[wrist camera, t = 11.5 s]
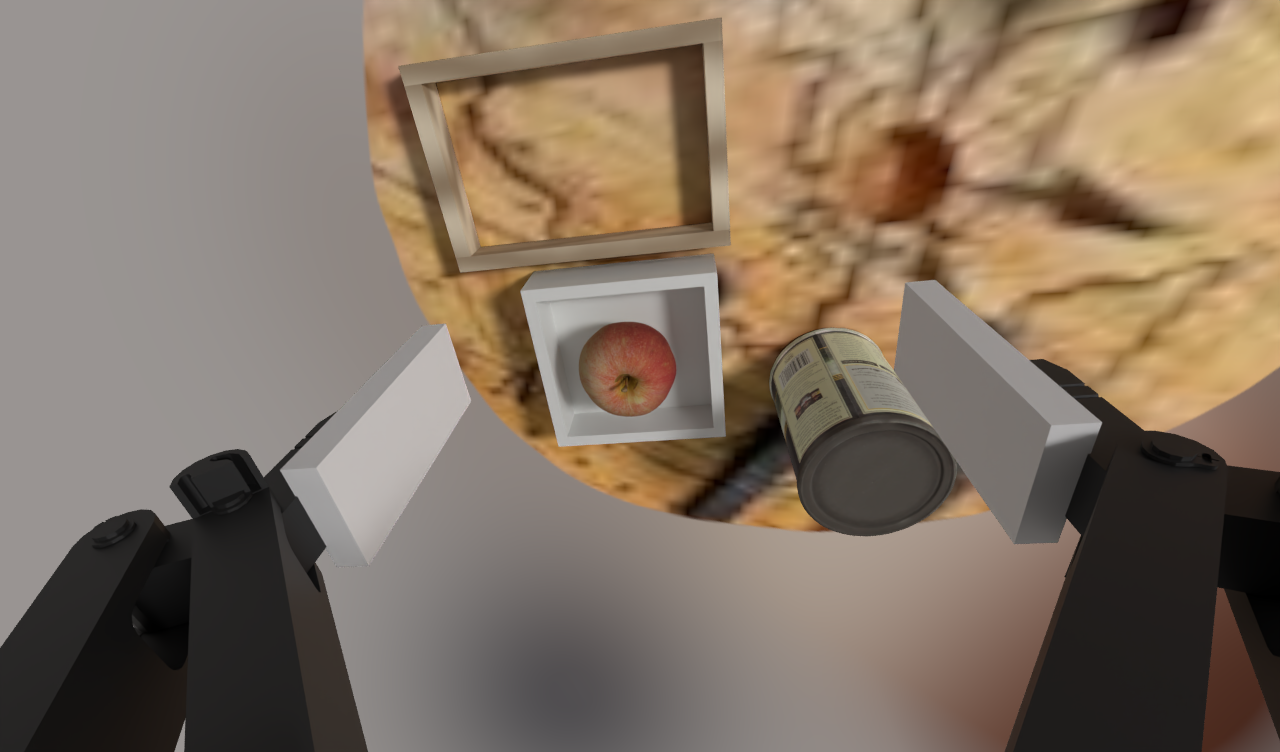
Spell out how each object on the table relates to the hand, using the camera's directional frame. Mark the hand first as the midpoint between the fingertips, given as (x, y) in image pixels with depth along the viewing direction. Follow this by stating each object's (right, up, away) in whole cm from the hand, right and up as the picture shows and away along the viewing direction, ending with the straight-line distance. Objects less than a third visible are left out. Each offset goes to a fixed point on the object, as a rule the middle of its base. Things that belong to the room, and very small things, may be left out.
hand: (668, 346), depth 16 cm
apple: (-2, +2, +32) cm, 32 cm away
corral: (-5, +16, +25) cm, 30 cm away
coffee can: (+16, -1, +33) cm, 37 cm away
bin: (-1, +2, +32) cm, 32 cm away
